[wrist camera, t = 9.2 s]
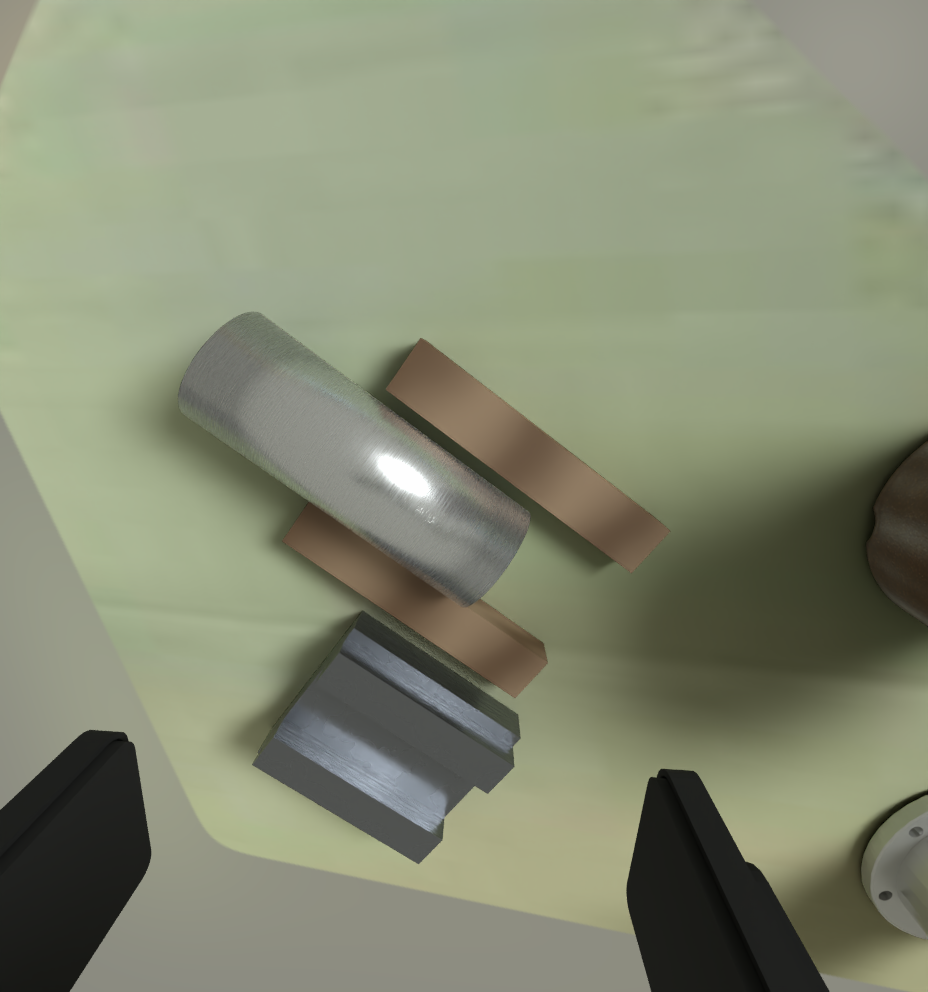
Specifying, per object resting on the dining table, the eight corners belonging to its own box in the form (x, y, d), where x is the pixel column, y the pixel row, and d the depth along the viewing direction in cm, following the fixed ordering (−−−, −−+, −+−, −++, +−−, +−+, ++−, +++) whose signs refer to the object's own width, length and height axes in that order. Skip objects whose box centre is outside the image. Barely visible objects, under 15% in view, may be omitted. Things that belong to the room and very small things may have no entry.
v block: (517, 714, 30) (522, 758, 27) (418, 819, 33) (411, 871, 30) (362, 610, 29) (346, 643, 25) (271, 729, 31) (245, 772, 28)
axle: (525, 497, 27) (535, 534, 21) (462, 574, 28) (455, 629, 22) (284, 317, 25) (222, 304, 19) (229, 410, 26) (156, 425, 20)
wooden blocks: (657, 519, 27) (670, 531, 25) (512, 676, 30) (515, 698, 28) (425, 340, 25) (420, 338, 23) (295, 529, 28) (282, 541, 26)
